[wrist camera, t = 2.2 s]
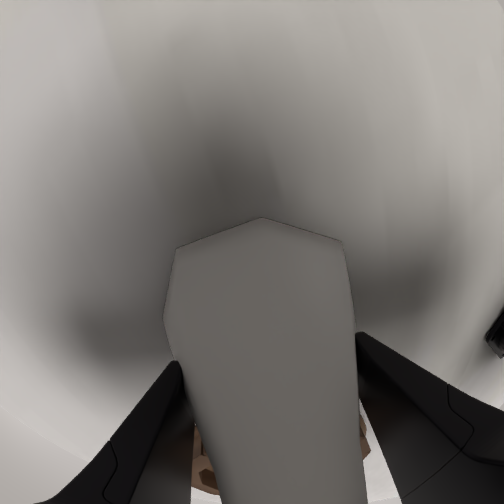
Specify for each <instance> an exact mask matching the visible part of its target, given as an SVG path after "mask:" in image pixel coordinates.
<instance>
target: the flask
mask: <svg viewBox="0 0 504 504" xmlns="http://www.w3.org/2000/svg"><path fill="white" fill-rule="evenodd" d="M163 322H164V326H165V330H166V335H167V338H168V341H169V345H170V348H171V351H172V354H173V357H174V360H177V361H178V362H179V364H180V366H181V369H182V375H183V384H184V390H185V393H186V396H187V400H188V403H189V406H190V409H191V412H192V415H193V418H194V421H195V423H196V426H197V429H198V432H199V435H200V437H201V440H202V443H203V445H204V448H205V451H206V453H207V456H208V458H209V461H210V463H211V466H212V468H213V470H214V474H215V478H216V482H217V486H218V490H219V494H220V498H221V501H222V504H368V500H367V491H366V482H365V474H364V466H363V459H362V452H361V445H360V410H359V386H358V370H357V357H356V346H355V333H356V324H355V314H354V307H353V300H352V294H351V288H350V282H349V276H348V271H347V266H346V260H345V255H344V250H343V245H342V242H341V241H338V240H334V239H331V238H328V237H325V236H322V235H319V234H315V233H312V232H309V231H306V230H302V229H299V228H296V227H292V226H289V225H286V224H282V223H279V222H276V221H272V220H269V219H265V218H262V217H261V218H258V219H256V220H253V221H250V222H247V223H244V224H242V225H239V226H236V227H233V228H230V229H228V230H225V231H222V232H219V233H217V234H214V235H211V236H209V237H206V238H203V239H201V240H198V241H195V242H192V243H190V244H187V245H185V246H182V247H179V248H177V249H176V251H175V256H174V260H173V265H172V270H171V275H170V280H169V285H168V290H167V296H166V301H165V307H164V313H163Z"/></svg>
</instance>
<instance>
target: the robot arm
mask: <svg viewBox="0 0 504 504" xmlns="http://www.w3.org/2000/svg"><path fill="white" fill-rule="evenodd" d="M486 342H487V343H488V344H489V345H490V346H491V348H492V349H493V350H494V351H495V353H496V354H497V355H498V356H499V357H500V359H501V358H503V357H504V313H503V315H502V316H501V318H500V319H499V320H498V322H497V323H496V324H495V326H494V327H493V328H492V330H491V331H490V332H489V334H488V335H487V337H486ZM355 346H356V357H357V370H358V386H359V398H360V400H361V403H362V405H363V407H364V410H365V412H366V414H367V417H368V419H369V421H370V424H371V426H372V428H373V431H374V433H375V436H376V438H377V440H378V443H379V445H380V448H381V450H382V453H383V455H384V458H385V460H386V463H387V465H388V468H389V470H390V473H391V475H392V478H393V480H394V483H395V485H396V488H397V491H398V493H399V496H400V499H401V502H402V504H504V411H502V410H500V409H497V408H495V407H493V406H491V405H488V404H486V403H484V402H482V401H480V400H477V399H475V398H473V397H471V396H469V395H467V394H466V393H464V392H462V391H460V390H459V389H457V388H455V387H453V386H452V385H450V384H447V383H446V382H445V381H443V380H442V379H440V378H438V377H437V376H435V375H433V374H432V373H430V372H428V371H427V370H425V369H423V368H422V367H420V366H418V365H417V364H415V363H414V362H412V361H410V360H409V359H407V358H405V357H404V356H402V355H400V354H399V353H397V352H396V351H394V350H392V349H391V348H389V347H387V346H386V345H384V344H382V343H381V342H379V341H378V340H376V339H374V338H373V337H371V336H369V335H368V334H366V333H364V332H357V333H355ZM194 432H195V421H194V418H193V415H192V412H191V409H190V406H189V403H188V400H187V396H186V393H185V390H184V384H183V375H182V369H181V366H180V364H179V362H178V361H177V360H175V361H171V362H170V363H169V364H168V366H167V367H166V368H165V370H164V371H163V372H162V373H161V375H160V376H159V377H158V378H157V380H156V381H155V382H154V384H153V385H152V386H151V387H150V389H149V390H148V391H147V392H146V394H145V395H144V396H143V397H142V399H141V400H140V401H139V403H138V404H137V405H136V406H135V408H134V409H133V410H132V411H131V413H130V414H129V415H128V416H127V418H126V419H125V420H124V421H123V423H122V424H121V425H120V427H119V428H118V429H117V430H116V432H115V433H114V434H113V435H112V437H111V438H110V441H108V442H107V443H106V444H105V445H104V447H103V448H102V449H101V450H100V451H99V453H98V454H97V455H96V456H95V457H94V458H93V460H92V461H91V462H90V463H89V464H88V465H87V466H86V467H85V468H84V469H83V470H82V471H81V472H80V473H79V474H78V475H77V476H76V477H75V478H74V479H73V480H72V481H71V482H70V483H69V484H68V485H67V486H65V487H64V488H63V489H62V490H61V491H60V492H59V493H58V494H57V495H55V496H54V497H53V498H51V499H49V500H47V501H44V502H40V503H35V504H190V502H191V480H192V462H193V446H194Z"/></svg>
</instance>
